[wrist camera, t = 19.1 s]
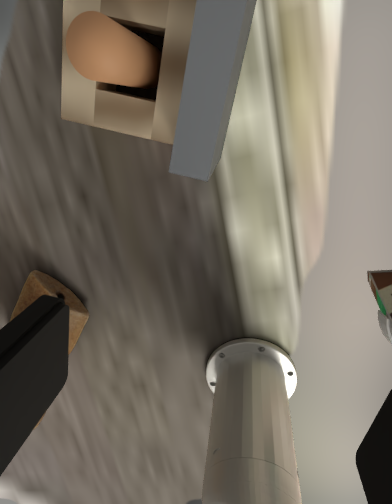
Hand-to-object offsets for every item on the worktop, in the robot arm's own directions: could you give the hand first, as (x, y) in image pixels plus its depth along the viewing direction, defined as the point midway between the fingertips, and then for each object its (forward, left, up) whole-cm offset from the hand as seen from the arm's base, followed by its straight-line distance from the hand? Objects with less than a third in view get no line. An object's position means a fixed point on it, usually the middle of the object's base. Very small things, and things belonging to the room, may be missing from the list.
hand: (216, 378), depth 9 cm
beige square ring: (+9, +12, -29) cm, 32 cm away
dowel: (+9, +12, -29) cm, 32 cm away
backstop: (+9, +4, -29) cm, 30 cm away
